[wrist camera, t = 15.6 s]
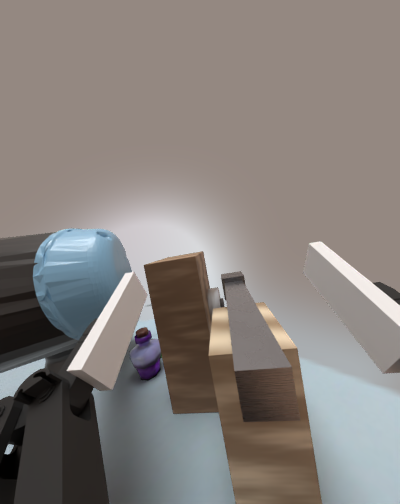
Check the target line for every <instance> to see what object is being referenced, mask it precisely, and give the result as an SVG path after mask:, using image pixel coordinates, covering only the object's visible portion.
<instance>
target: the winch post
mask: <svg viewBox="0 0 400 504" xmlns="http://www.w3.org/2000/svg"><path fill="white" fill-rule="evenodd" d="M144 269H145V274H146V278H147V284H148V288H149V294H150V298H151V304H152V309H153V314H154V319H155V324H156V329H157V334H158V339H159V344H160V349H161V354H162V359H163V364H164V369H165V374H166V379H167V384H168V389H169V394H170V399H171V404H172V409H173V414H181V413H207V412H219V410H218V404H217V399H216V394H215V388H214V383H213V378H212V372H211V367H210V361H209V356H208V355H209V345H210V335H211V325H212V314H213V309H214V308H222V307H224V301H223V298H222V299H220V294H219V290H218V287H217V288H211V289H210V286H209V281H208V275H207V270H206V265H205V259H204V253H203V252H197V253H191V254H185V255H180V256H174V257H168V258H165V259H162V260H159V261H155V262H152V263H149V264H146V265H144Z"/></svg>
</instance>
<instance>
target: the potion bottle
mask: <svg viewBox="0 0 400 504" xmlns="http://www.w3.org/2000/svg"><path fill="white" fill-rule="evenodd" d="M151 338H152V336H151V332H150V331H148V329H147V328H146V327H145V328H141V329H139V330H137V331H136V336H135V342H136V344H137V345H136V346H135V347H134V348H133V349H132V350H131V351H130V359H131V361H132V363H133V365H134V367H135V368H136V369H137V371H138V373H139V375H140V378H141V380H147V381H148V380H150V379H152V378H154V377H155V376H157V374H158V373H159V371H160V370H161V369H160V358H162V354H161V349H160V344H159V339H151Z"/></svg>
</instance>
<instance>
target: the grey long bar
mask: <svg viewBox="0 0 400 504" xmlns="http://www.w3.org/2000/svg"><path fill="white" fill-rule="evenodd" d="M221 279H222V284H223V290H224V295H225V300H226V301H227V310H228V319H229V328H230V337H231V345H232V354H233V363H234V372H235V377H236V383H237V389H238V394H239V400H240V405H241V411H242V416H243V422H267V421H301V420H300V414H299V408H298V401H297V395H296V389H295V383H294V377H293V371H292V366H291V365H290V363H289V361H288V359H287V358H286V356H285V354H284V352H283V351H282V349H281V347H280V345H279V344H278V342H277V340H276V338H275V337H274V335H273V333H272V331H271V330H270V328H269V326H268V324H267V323H266V321H265V319H264V317H263V316H262V314H261V312H260V311H259V309H258V307H257V305H256V304H255V302H254V300H253V298H252V297H251V295H250V293H249V291H248V290H247V288H246V286H245V280H244V275H243V274H242V273H241V272H234V273H227V274H222V275H221Z"/></svg>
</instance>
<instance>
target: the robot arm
mask: <svg viewBox="0 0 400 504" xmlns="http://www.w3.org/2000/svg"><path fill="white" fill-rule="evenodd" d="M303 273H304V275H305V276H306V277H307V278H308V280H309V281H310V282H311V283H312V285H313V286H314V287H315V288H316V289H317V291H318V292H319V293H320V295H321V296H322V297H323V299H324V300H325V301H326V302H327V304H328V305H329V306H330V307H331V309H332V310H333V311H334V312H335V313H336V315H337V316H338V317H339V319H340V320H341V321H342V322H343V324H344V325H345V326H346V328H347V329H348V330H349V331H350V332H351V334H352V335H353V336H354V338H355V339H356V340H357V341H358V343H359V344H360V345H361V346H362V348H363V349H364V350H365V352H366V353H367V354H368V355H369V356H370V358H371V359H372V360H373V361H374V363H375V364H376V365H377V367H378V368H379V369H380V370H381V372H382V373H400V293H398V292H397V291H396V290H395V289H393V288H391V287H389V286H387V285H384V284H383V283H381V282H376V283H371V282H370V281H369V280H368V279H367V278H365V277H364V276H363V275H362V274H360V273H359V272H358V271H357V270H355V269H354V268H353V267H352V266H350V265H349V264H348V263H347V262H345V261H344V260H343V259H342V258H341V257H339V256H338V255H337V254H335V253H334V252H333V251H332V250H331V249H329V248H328V247H327V246H326V245H324V244H323V243H322V242H315V243H309V246H308V251H307V257H306V262H305V266H304V271H303ZM146 297H147V293H146V292H145V290H144V288H143V286H142V285H141V283H140V282H139V279H138V278H137V276H136V274H135V273H134V272H132V271H131V267H130V264H129V261H128V259H127V257H126V253H125V249H124V247H123V245H122V243H121V242H120V240H119V239H118V237H117V236H116V235H114V234H113V233H112V232H110V231H108V230H104V229H86V230H82V229H65V230H60V231H58V232H54V233H45V234H38V235H37V234H36V235H28V236H19V237H8V238H0V373H3V372H5V371H8V370H11V369H14V368H17V367H20V366H23V365H26V364H29V363H31V362H34V361H37V360H40V359H43V358H45V359H46V363H45V368H44V369H40V370H38V371H36V372H34V373H33V374H32V375H31V376H29V377H28V378H27V379H26V380H25V381H24V382H23V383H22V384H21V385H20V387H19V388H18V390H17V391H16V393H15V395H14V397H11V396H8V397H5V398H3V399H2V400H0V504H109V499H108V492H107V485H106V478H105V471H104V464H103V458H102V451H101V444H100V437H99V430H98V423H97V417H96V410H95V403H94V397H93V395H92V393H91V392H92V390H93V388H96V389H97V390H99V391H107V390H113V387H114V385H115V382H116V379H117V377H118V374H119V371H120V368H121V366H122V363H123V360H124V357H125V355H126V352H127V349H128V347H129V344H130V341H131V338H132V336H133V333H134V330H135V327H136V325H137V322H138V319H139V317H140V314H141V311H142V308H143V306H144V303H145V300H146ZM8 444H12V445H14V447H13V449H12V451H11V453H10V454H8V455H7V454H4V453H5V450H6V448H7V445H8Z"/></svg>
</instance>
